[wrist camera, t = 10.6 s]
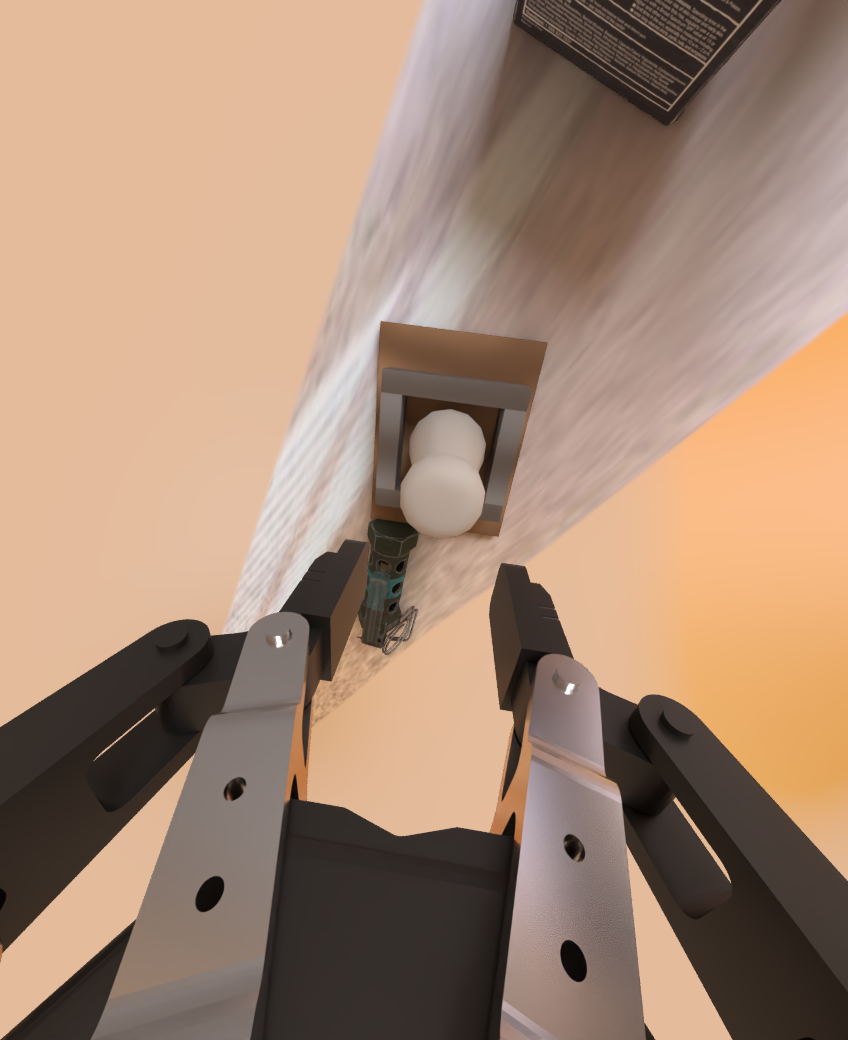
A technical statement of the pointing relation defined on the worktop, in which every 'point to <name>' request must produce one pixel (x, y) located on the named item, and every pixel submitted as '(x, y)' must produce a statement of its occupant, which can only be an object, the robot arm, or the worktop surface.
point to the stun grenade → (386, 583)
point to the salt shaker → (444, 475)
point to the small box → (646, 43)
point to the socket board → (452, 406)
